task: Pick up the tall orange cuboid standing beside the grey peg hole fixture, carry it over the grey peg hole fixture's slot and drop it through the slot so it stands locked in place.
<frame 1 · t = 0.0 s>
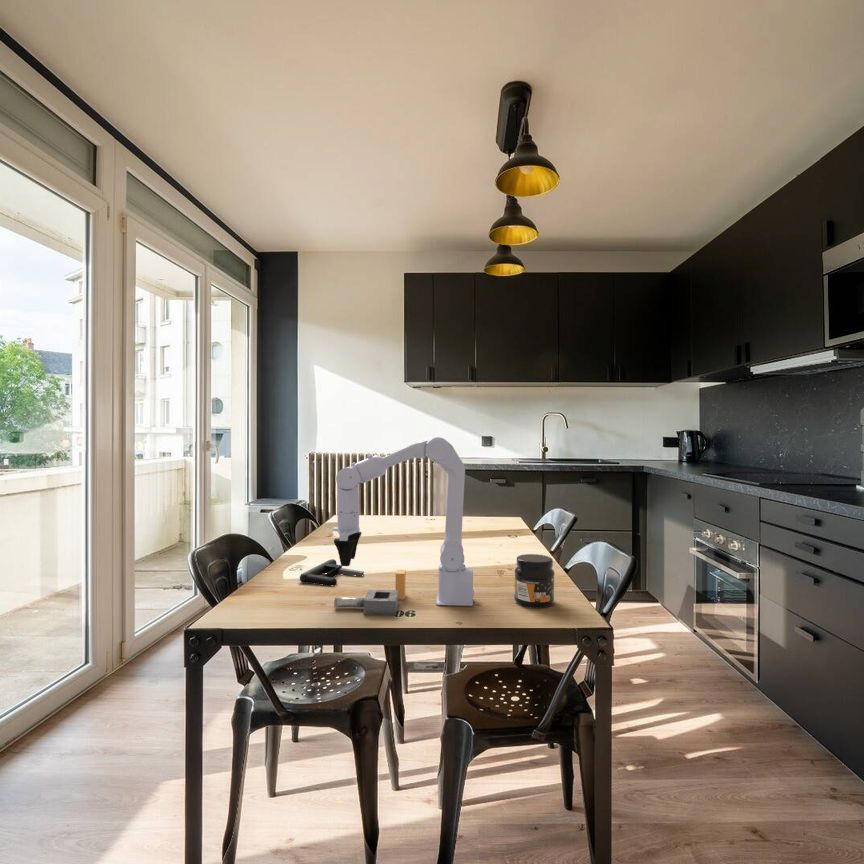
hand: (348, 562, 149), 10 cm above the table, tool pointing down, fingers open, 7 cm apart
door handle: (334, 578, 171), on the table
supplement container: (534, 603, 148), on the table
grey peg hole fixture: (381, 608, 142), on the table
tall orange cuboid: (400, 597, 152), on the table
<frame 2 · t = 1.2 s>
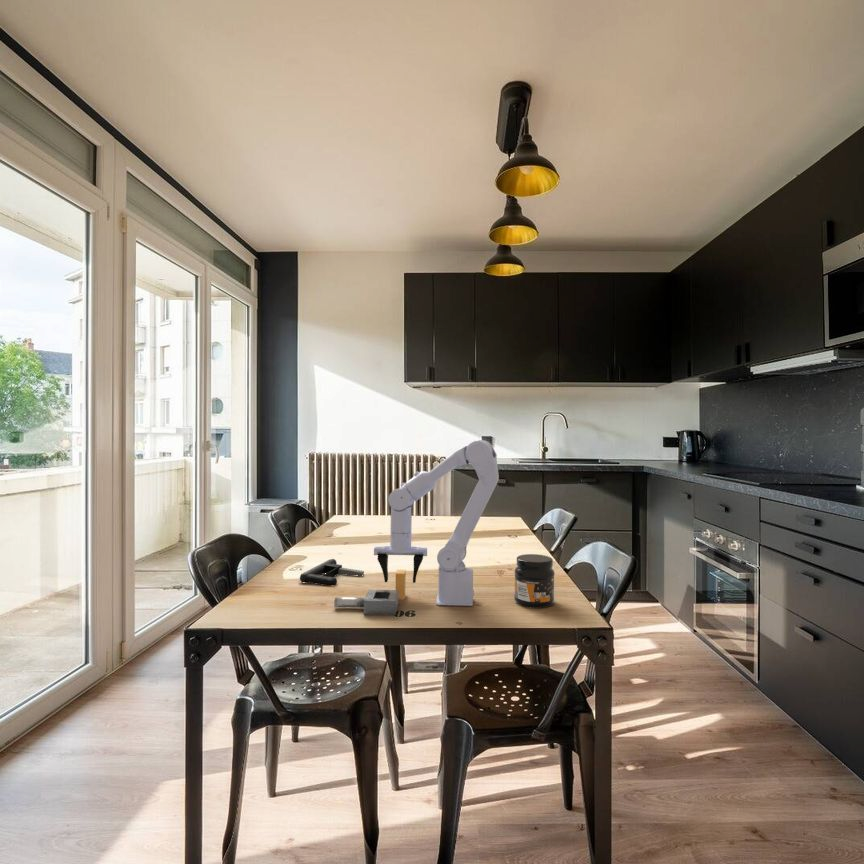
hand: (400, 581, 152), 4 cm above the table, tool pointing down, fingers open, 7 cm apart
nothing on the table moved.
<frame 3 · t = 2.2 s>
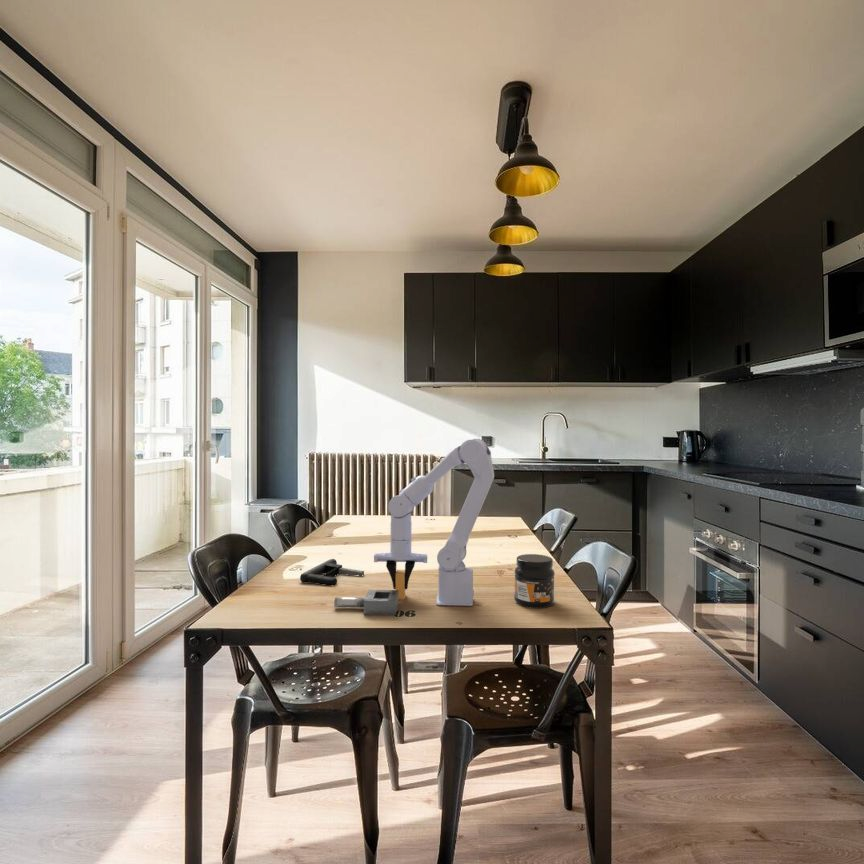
hand: (400, 588, 152), 2 cm above the table, tool pointing down, fingers closed on tall orange cuboid, 2 cm apart
tall orange cuboid: (400, 596, 152), on the table, touching gripper
everything else where it was.
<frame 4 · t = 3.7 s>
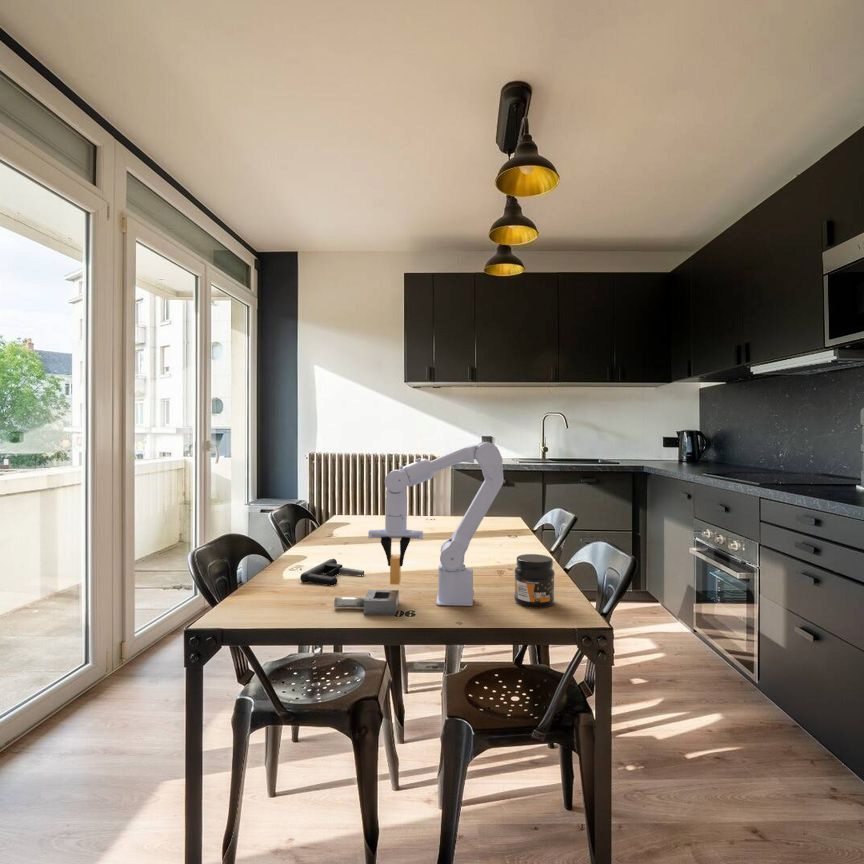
hand: (395, 565, 149), 9 cm above the table, tool pointing down, fingers closed on tall orange cuboid, 2 cm apart
tall orange cuboid: (395, 582, 149), point 5 cm above the table, touching gripper
everything else where it was.
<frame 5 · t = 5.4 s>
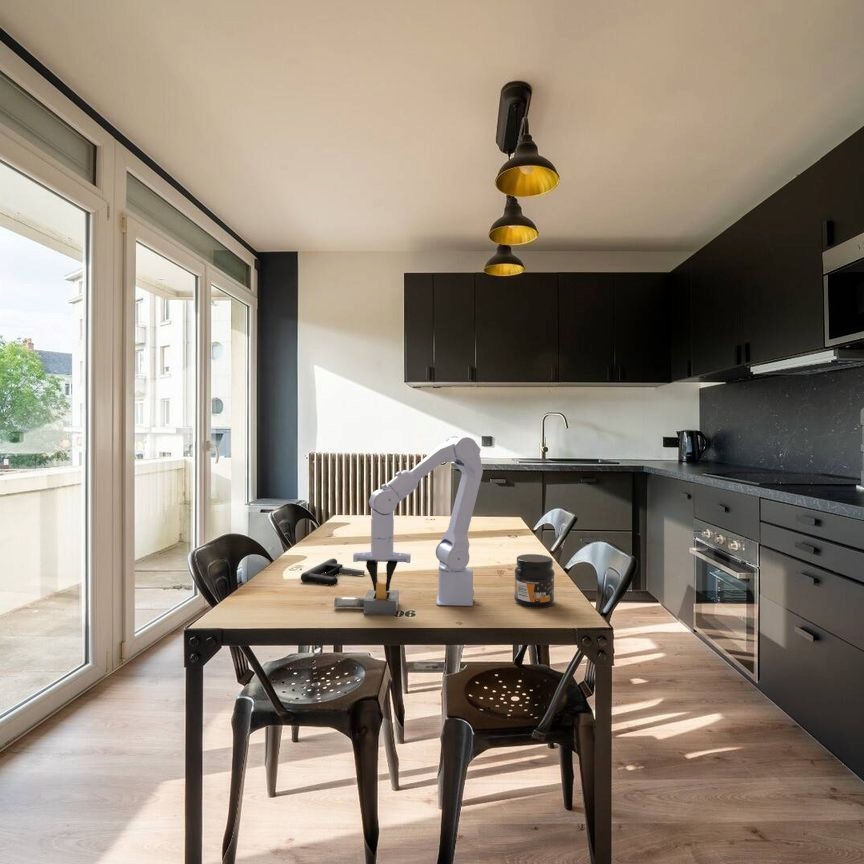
hand: (381, 589, 142), 5 cm above the table, tool pointing down, fingers closed on tall orange cuboid, 2 cm apart
tall orange cuboid: (381, 608, 142), resting in grey peg hole fixture, touching gripper
everything else where it was.
when the fingers open (4 cm above the table, at t = 5.9 s): tall orange cuboid stays where it is, resting in grey peg hole fixture.
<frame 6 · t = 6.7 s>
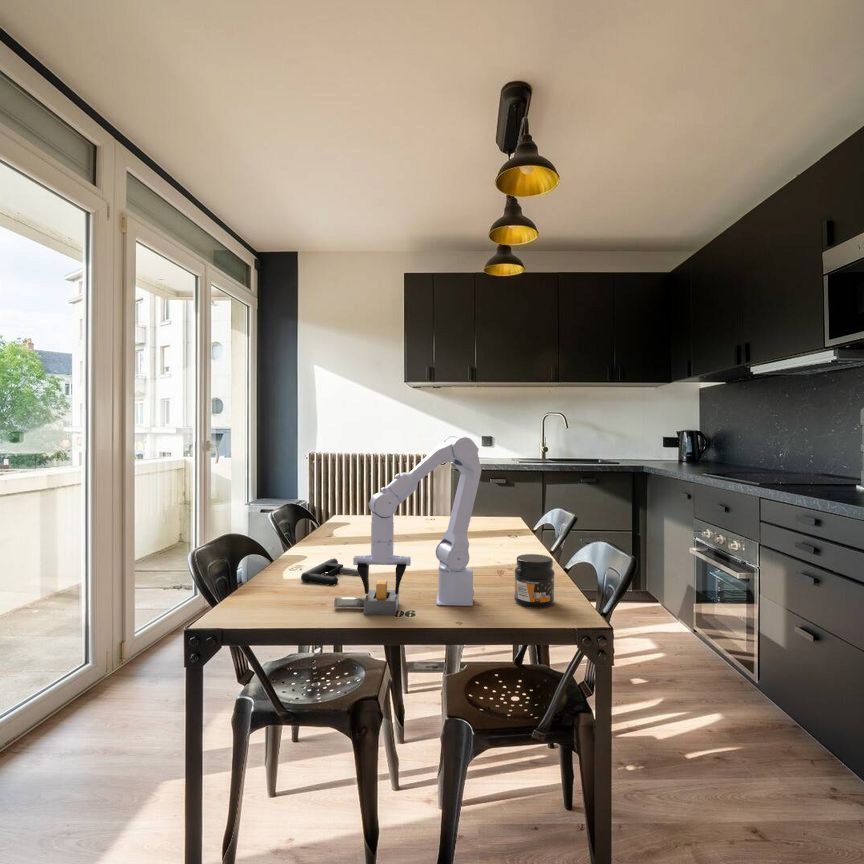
hand: (381, 592, 142), 4 cm above the table, tool pointing down, fingers open, 7 cm apart
tall orange cuboid: (381, 608, 142), resting in grey peg hole fixture
everything else where it was.
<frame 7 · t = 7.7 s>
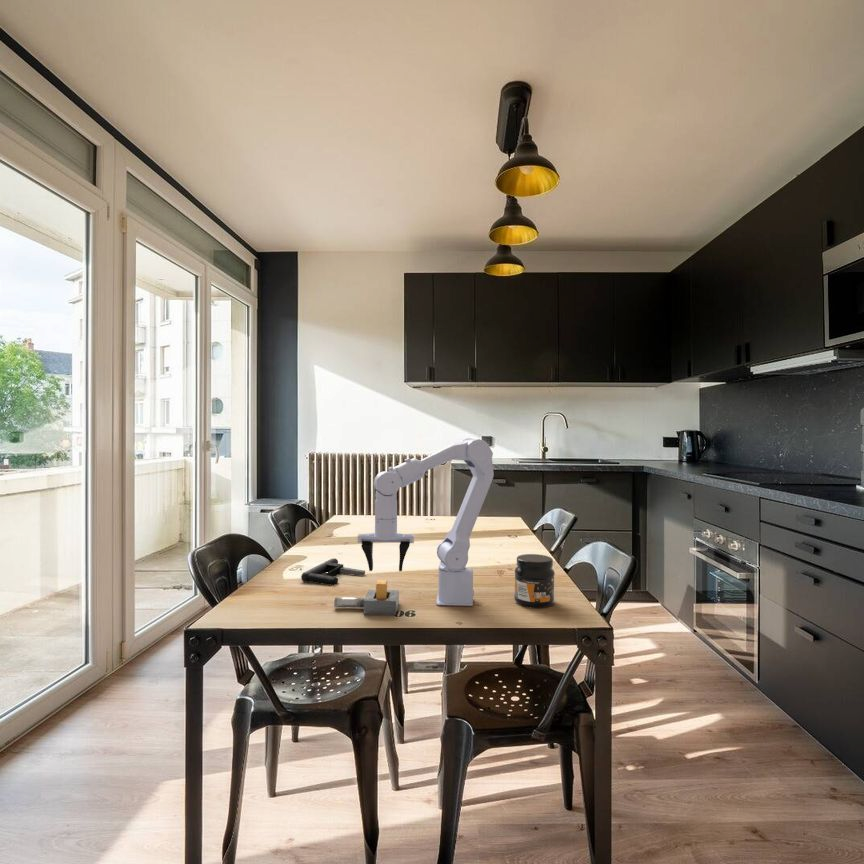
hand: (385, 570, 144), 9 cm above the table, tool pointing down, fingers open, 7 cm apart
nothing on the table moved.
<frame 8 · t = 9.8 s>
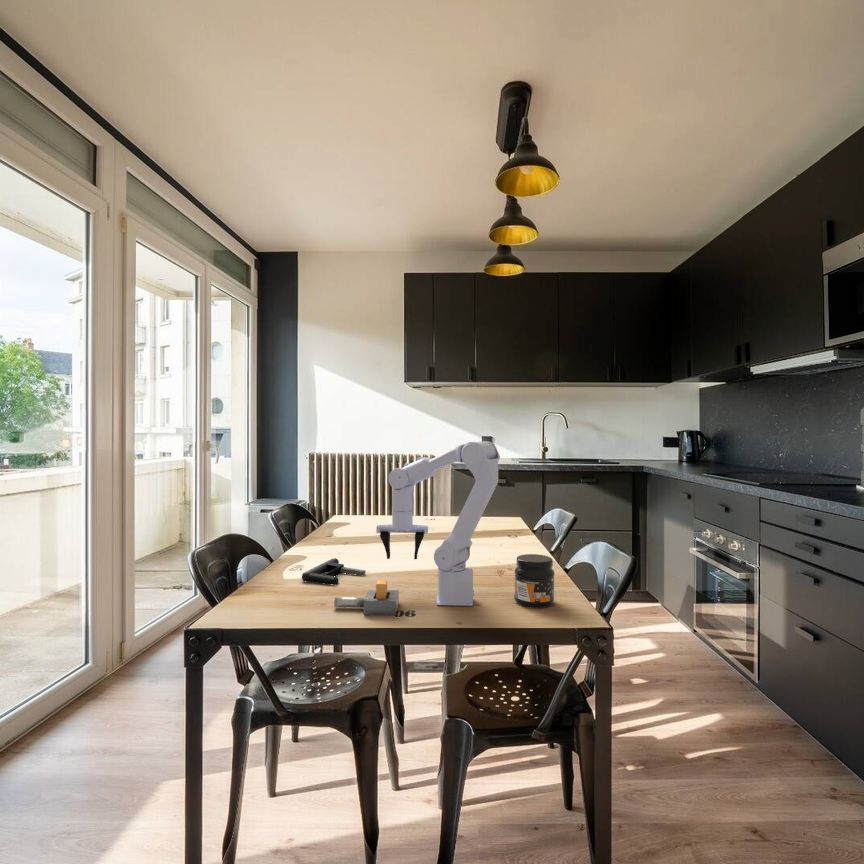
hand: (402, 558, 157), 9 cm above the table, tool pointing down, fingers open, 7 cm apart
at the end: tall orange cuboid 0.1 cm off-centre on the grey peg hole fixture, point 0.0 cm above the grey peg hole fixture's base; tall orange cuboid tilted 0°; the gripper is holding nothing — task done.
